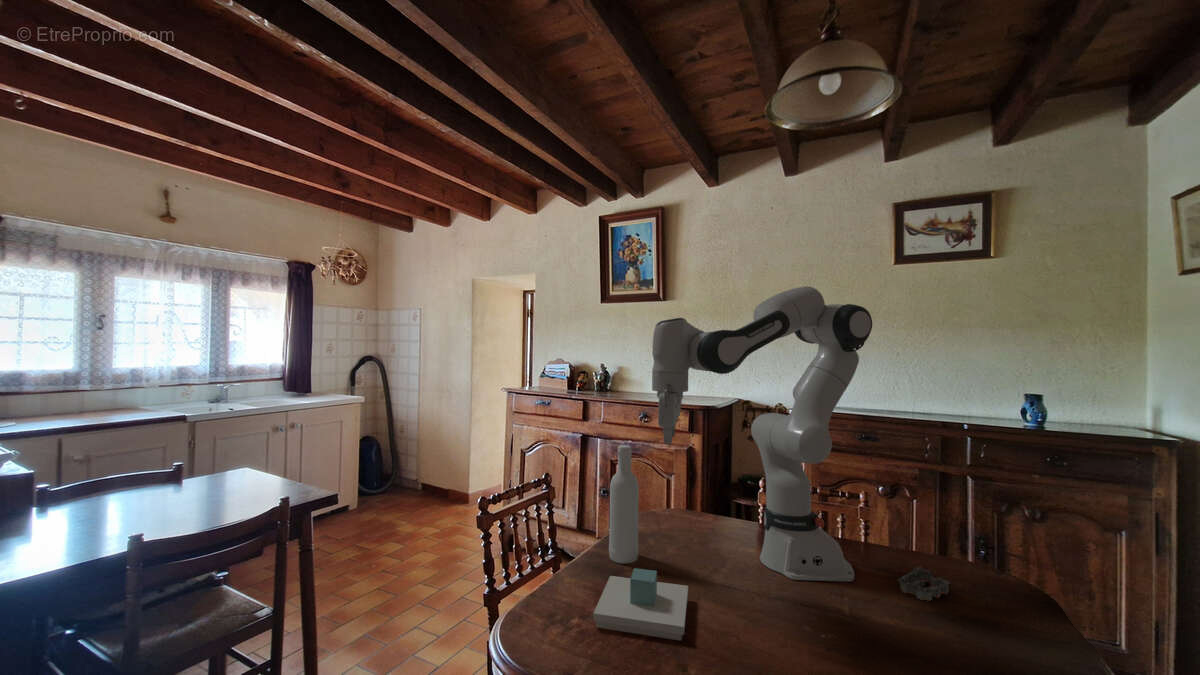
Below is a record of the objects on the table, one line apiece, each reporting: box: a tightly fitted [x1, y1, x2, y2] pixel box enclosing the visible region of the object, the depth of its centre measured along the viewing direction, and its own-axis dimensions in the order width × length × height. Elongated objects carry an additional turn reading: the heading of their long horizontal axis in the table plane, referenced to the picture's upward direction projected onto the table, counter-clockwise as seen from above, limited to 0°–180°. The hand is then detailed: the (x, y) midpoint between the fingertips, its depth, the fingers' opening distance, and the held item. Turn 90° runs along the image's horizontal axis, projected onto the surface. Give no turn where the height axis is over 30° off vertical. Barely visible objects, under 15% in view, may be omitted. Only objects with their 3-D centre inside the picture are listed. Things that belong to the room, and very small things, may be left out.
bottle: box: [608, 444, 640, 565], centre depth 125 cm, size 8×8×30 cm
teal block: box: [630, 567, 658, 607], centre depth 98 cm, size 5×5×5 cm
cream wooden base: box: [592, 575, 689, 641], centre depth 98 cm, size 18×16×3 cm
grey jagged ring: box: [896, 565, 951, 601], centre depth 109 cm, size 11×8×4 cm
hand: (669, 440), depth 113 cm, fingers open, 8 cm apart
